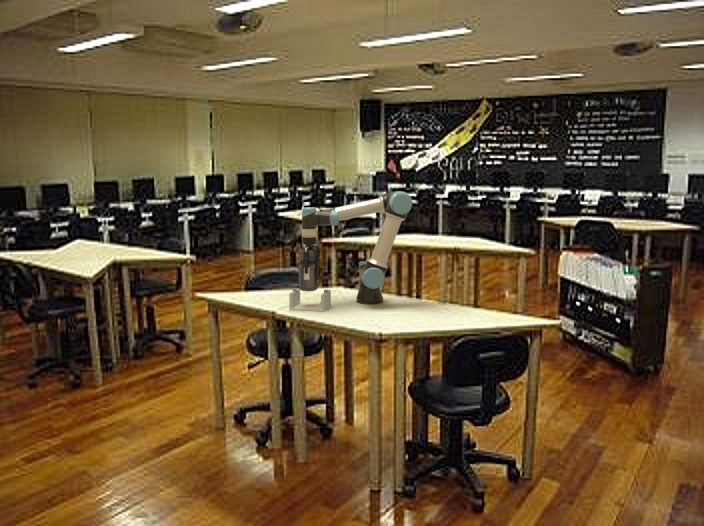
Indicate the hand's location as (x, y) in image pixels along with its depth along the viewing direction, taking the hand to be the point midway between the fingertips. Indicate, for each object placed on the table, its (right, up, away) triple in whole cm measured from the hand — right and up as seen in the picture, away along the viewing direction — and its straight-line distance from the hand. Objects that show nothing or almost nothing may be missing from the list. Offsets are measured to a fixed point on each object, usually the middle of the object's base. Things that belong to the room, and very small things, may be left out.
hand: (309, 277), depth 333 cm
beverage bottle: (0, -7, +1) cm, 7 cm away
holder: (0, -16, +2) cm, 16 cm away
